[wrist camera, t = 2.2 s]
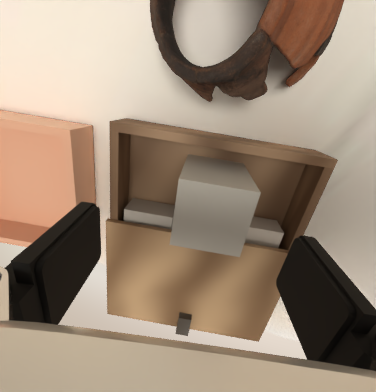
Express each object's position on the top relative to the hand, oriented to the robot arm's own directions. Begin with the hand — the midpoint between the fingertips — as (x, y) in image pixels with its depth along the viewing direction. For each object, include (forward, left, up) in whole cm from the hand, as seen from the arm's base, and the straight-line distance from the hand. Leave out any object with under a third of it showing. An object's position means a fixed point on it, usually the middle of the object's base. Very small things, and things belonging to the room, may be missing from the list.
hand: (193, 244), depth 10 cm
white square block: (-6, +4, -9) cm, 11 cm away
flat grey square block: (+4, +4, -9) cm, 10 cm away
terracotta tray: (+15, +2, -9) cm, 18 cm away
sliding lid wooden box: (-1, +5, -9) cm, 11 cm away
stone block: (-1, 0, -9) cm, 8 cm away
